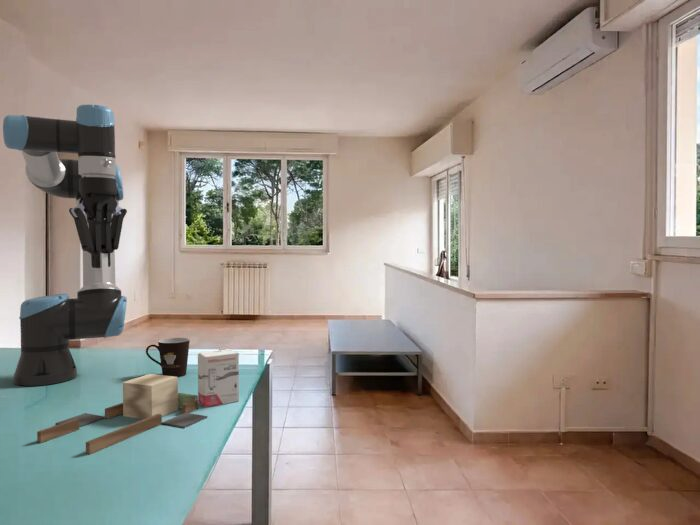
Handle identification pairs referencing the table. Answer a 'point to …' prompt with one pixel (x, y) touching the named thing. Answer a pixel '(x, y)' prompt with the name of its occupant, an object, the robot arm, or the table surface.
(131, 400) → the beech block
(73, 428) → the channel
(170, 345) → the coffee mug
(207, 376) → the ink box
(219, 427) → the table surface
